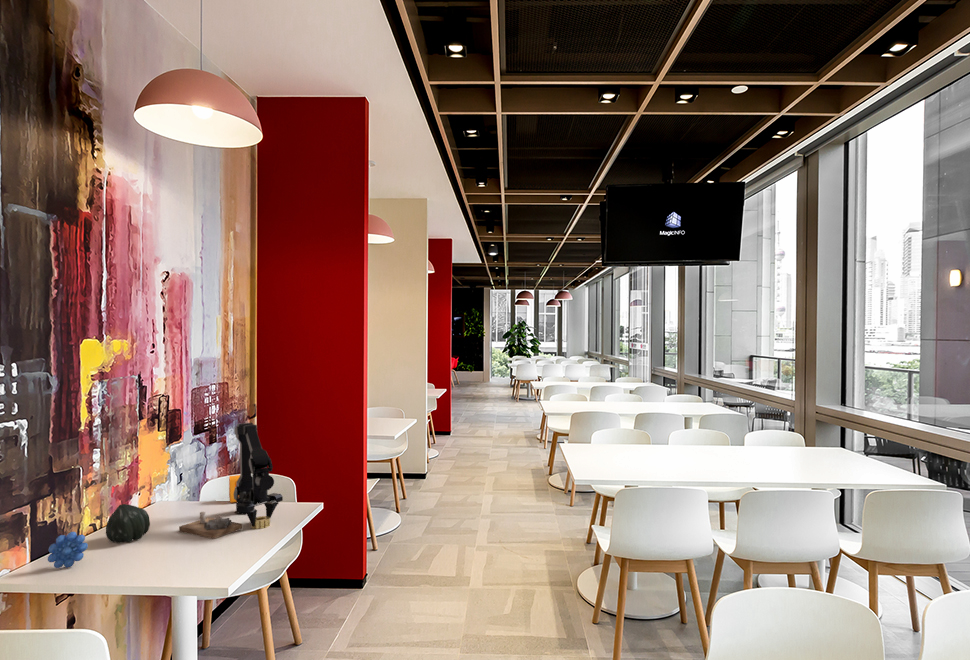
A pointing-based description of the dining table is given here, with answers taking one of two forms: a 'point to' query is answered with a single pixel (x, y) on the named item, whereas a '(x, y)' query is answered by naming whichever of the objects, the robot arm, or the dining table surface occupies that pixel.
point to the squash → (127, 524)
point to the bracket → (232, 487)
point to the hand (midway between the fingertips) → (260, 523)
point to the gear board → (209, 533)
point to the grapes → (67, 550)
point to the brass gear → (261, 522)
